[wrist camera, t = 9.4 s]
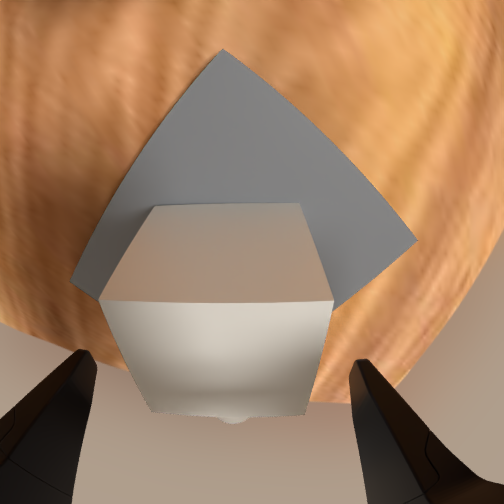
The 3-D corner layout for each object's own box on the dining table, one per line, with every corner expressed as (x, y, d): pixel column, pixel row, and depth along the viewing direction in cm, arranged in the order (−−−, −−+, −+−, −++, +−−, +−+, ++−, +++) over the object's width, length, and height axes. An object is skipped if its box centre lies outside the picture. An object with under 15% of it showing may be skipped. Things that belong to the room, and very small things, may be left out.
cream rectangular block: (299, 202, 12) (333, 300, 7) (285, 355, 17) (294, 445, 12) (154, 205, 12) (98, 299, 7) (185, 354, 17) (171, 443, 12)
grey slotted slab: (225, 51, 10) (208, 34, 6) (408, 228, 14) (451, 284, 10) (78, 269, 16) (41, 324, 12) (235, 365, 20) (231, 424, 16)
